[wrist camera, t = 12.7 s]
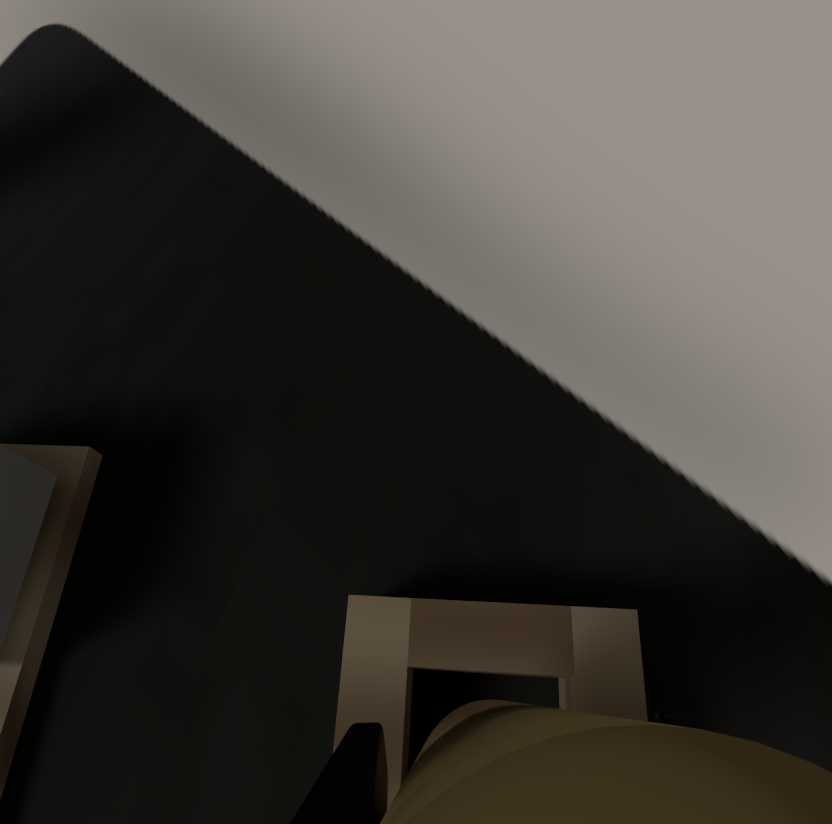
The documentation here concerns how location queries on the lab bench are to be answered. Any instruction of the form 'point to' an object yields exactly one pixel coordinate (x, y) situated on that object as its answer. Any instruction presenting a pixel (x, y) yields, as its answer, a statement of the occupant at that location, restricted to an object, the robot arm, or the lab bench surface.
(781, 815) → the brass pin
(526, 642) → the socket block
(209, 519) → the lab bench surface
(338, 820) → the robot arm
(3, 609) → the cover
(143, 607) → the lab bench surface
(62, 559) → the plate
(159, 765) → the lab bench surface
